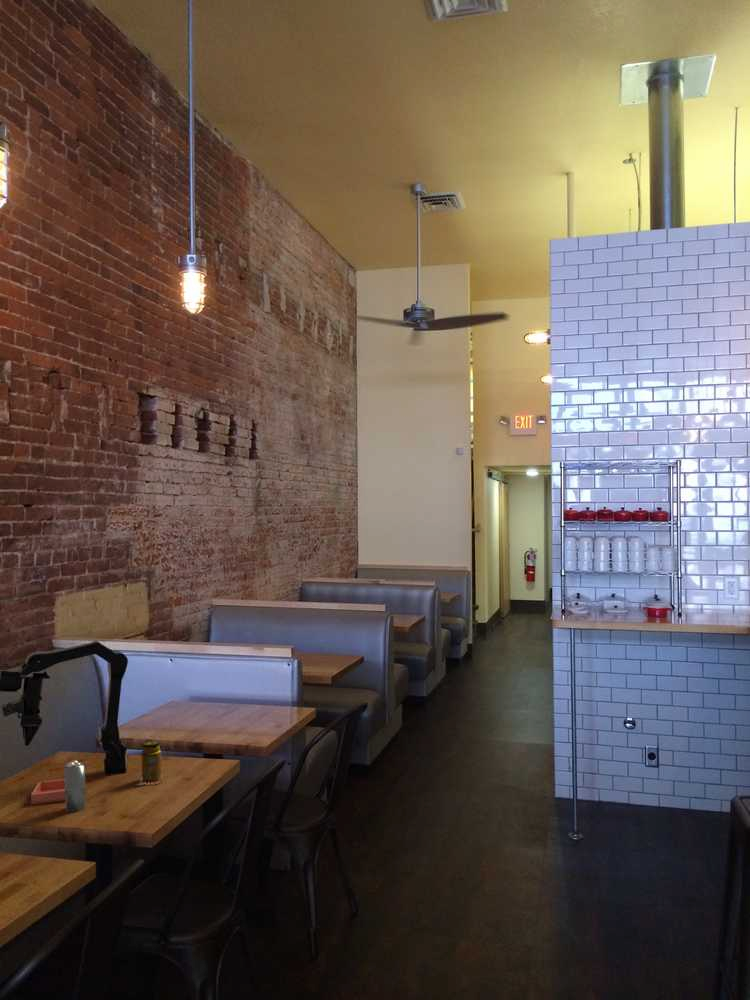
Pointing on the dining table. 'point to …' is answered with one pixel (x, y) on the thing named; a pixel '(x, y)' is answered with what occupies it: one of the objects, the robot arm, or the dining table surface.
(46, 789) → the dish
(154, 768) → the condiment
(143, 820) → the dining table surface
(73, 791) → the pebble tin
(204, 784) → the dining table surface
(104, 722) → the robot arm
